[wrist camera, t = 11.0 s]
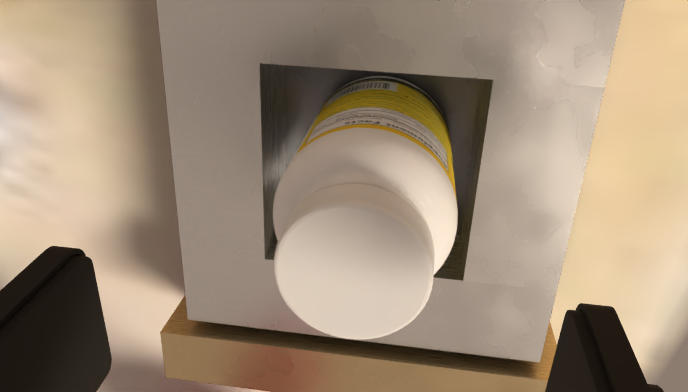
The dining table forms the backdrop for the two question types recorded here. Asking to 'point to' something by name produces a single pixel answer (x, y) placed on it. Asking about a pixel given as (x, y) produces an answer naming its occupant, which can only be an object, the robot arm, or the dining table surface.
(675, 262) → the dining table surface
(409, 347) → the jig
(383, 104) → the supplement bottle
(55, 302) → the robot arm
